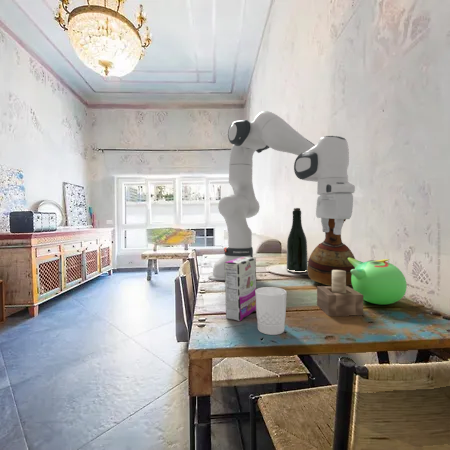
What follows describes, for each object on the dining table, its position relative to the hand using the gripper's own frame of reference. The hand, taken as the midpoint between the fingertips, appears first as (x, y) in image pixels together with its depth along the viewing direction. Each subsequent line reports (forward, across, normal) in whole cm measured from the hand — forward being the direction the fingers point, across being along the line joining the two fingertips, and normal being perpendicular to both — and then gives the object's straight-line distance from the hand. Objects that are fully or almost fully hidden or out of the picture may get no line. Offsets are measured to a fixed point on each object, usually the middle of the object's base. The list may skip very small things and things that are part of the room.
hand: (331, 233), depth 85 cm
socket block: (+23, +3, +2) cm, 24 cm away
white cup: (+24, +17, -21) cm, 36 cm away
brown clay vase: (+24, -29, +12) cm, 40 cm away
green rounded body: (+23, -4, +17) cm, 29 cm away
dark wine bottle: (+24, -55, +4) cm, 61 cm away
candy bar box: (+24, +6, -28) cm, 37 cm away
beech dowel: (+23, +3, +2) cm, 24 cm away
